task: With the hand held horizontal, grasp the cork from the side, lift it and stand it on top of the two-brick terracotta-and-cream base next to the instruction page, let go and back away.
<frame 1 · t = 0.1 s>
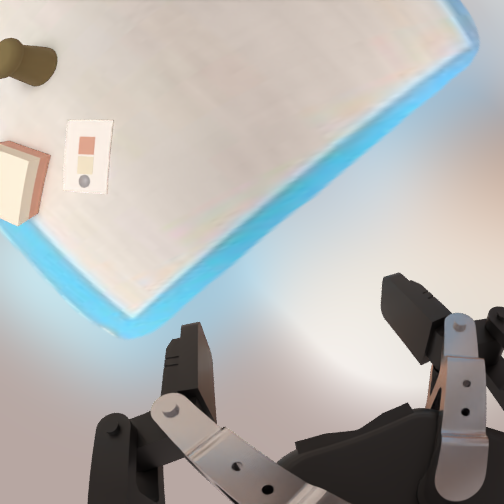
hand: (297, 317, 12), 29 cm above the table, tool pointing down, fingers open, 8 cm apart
brick base: (21, 176, 33), on the table
cork: (41, 66, 27), on the table
instruction page: (86, 156, 34), on the table
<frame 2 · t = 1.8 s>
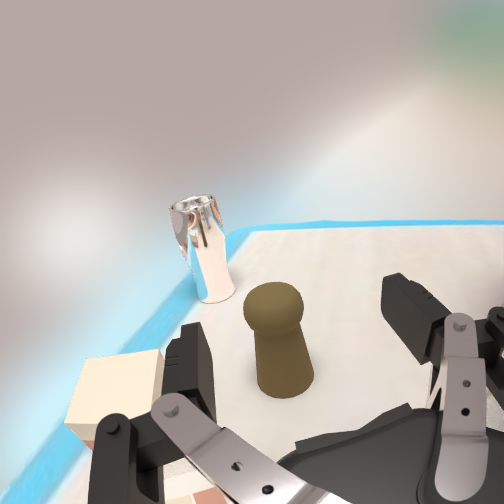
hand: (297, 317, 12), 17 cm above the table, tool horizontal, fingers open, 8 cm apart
brick base: (138, 420, 26), on the table
cork: (285, 377, 30), on the table
beer glass: (216, 293, 47), on the table
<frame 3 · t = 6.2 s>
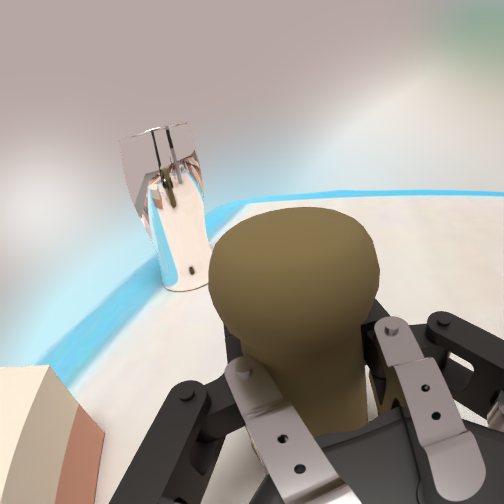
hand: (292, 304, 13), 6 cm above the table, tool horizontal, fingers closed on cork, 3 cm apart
brick base: (37, 484, 9), on the table
cork: (309, 429, 13), on the table, touching gripper
beer glass: (191, 277, 31), on the table
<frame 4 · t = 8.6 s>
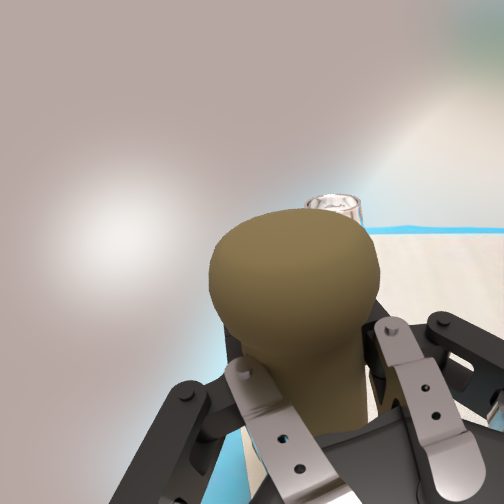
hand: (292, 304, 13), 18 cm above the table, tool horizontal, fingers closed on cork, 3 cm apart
brick base: (314, 485, 18), on the table
cork: (309, 430, 13), point 12 cm above the table, touching gripper
beer glass: (337, 309, 39), on the table
when the fingers open (12 cm above the table, at t = 11.4 s): cork stays where it is, resting on brick base.
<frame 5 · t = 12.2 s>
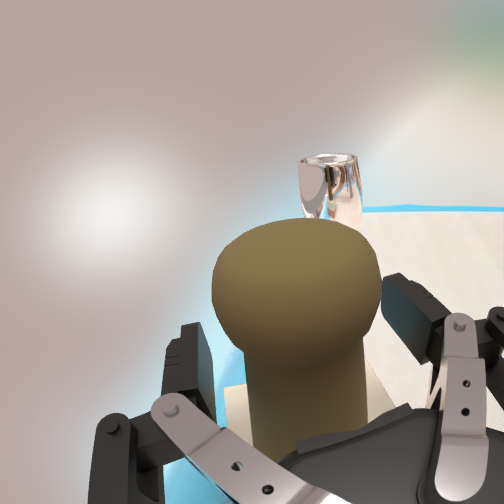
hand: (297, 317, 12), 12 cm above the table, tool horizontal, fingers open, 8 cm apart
brick base: (316, 468, 16), on the table
cork: (310, 434, 13), point 6 cm above the table, touching brick base
beer glass: (337, 279, 37), on the table
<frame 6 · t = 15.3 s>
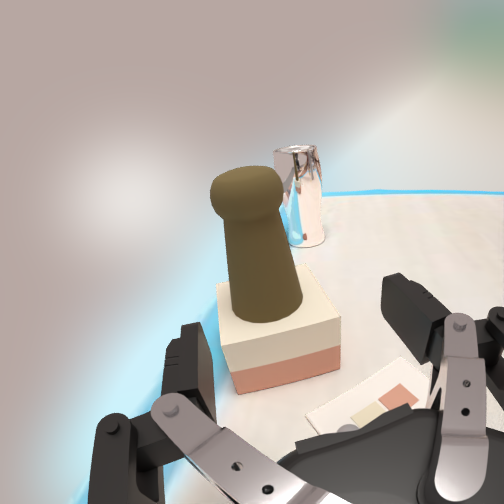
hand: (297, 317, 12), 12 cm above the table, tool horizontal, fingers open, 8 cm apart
brick base: (279, 348, 28), on the table
cork: (267, 302, 25), point 6 cm above the table, touching brick base
beer glass: (306, 240, 49), on the table
instruction page: (383, 412, 18), on the table
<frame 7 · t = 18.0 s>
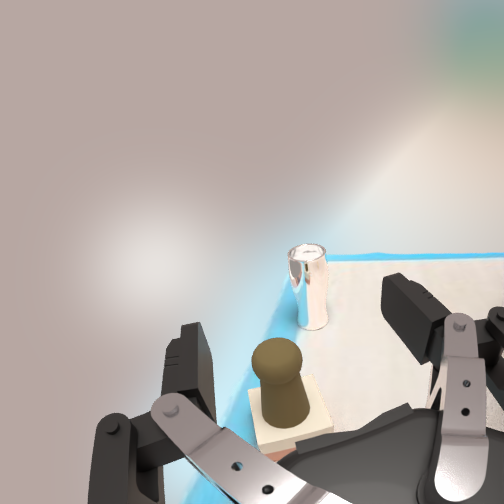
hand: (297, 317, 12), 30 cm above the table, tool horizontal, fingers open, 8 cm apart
brick base: (291, 429, 36), on the table
cork: (285, 409, 33), point 6 cm above the table, touching brick base
beer glass: (313, 321, 57), on the table
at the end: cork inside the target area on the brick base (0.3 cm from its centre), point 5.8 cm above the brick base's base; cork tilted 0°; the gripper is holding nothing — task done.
